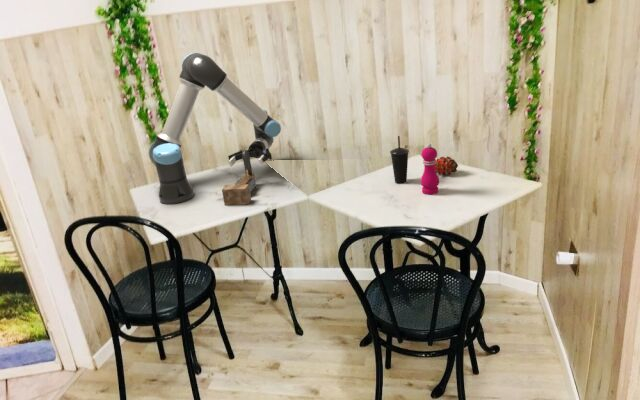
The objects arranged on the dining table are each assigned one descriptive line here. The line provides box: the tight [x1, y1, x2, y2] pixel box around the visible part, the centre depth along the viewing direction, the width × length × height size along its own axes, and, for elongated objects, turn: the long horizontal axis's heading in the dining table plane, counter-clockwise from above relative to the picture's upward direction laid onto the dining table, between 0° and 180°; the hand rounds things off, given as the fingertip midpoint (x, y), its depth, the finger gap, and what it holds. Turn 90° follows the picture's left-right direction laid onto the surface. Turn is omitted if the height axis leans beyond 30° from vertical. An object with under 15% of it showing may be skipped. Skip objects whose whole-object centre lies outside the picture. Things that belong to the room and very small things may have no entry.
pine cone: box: [435, 156, 459, 177], centre depth 223 cm, size 8×8×12 cm
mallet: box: [236, 149, 256, 185], centre depth 227 cm, size 4×15×15 cm, turn 170°
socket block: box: [221, 184, 252, 206], centre depth 218 cm, size 10×5×7 cm, turn 80°
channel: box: [234, 176, 257, 197], centre depth 228 cm, size 7×10×5 cm
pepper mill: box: [420, 143, 440, 196], centre depth 204 cm, size 7×7×20 cm
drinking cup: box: [389, 135, 410, 185], centre depth 217 cm, size 8×8×20 cm
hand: (244, 163), depth 228 cm, fingers open, 13 cm apart
